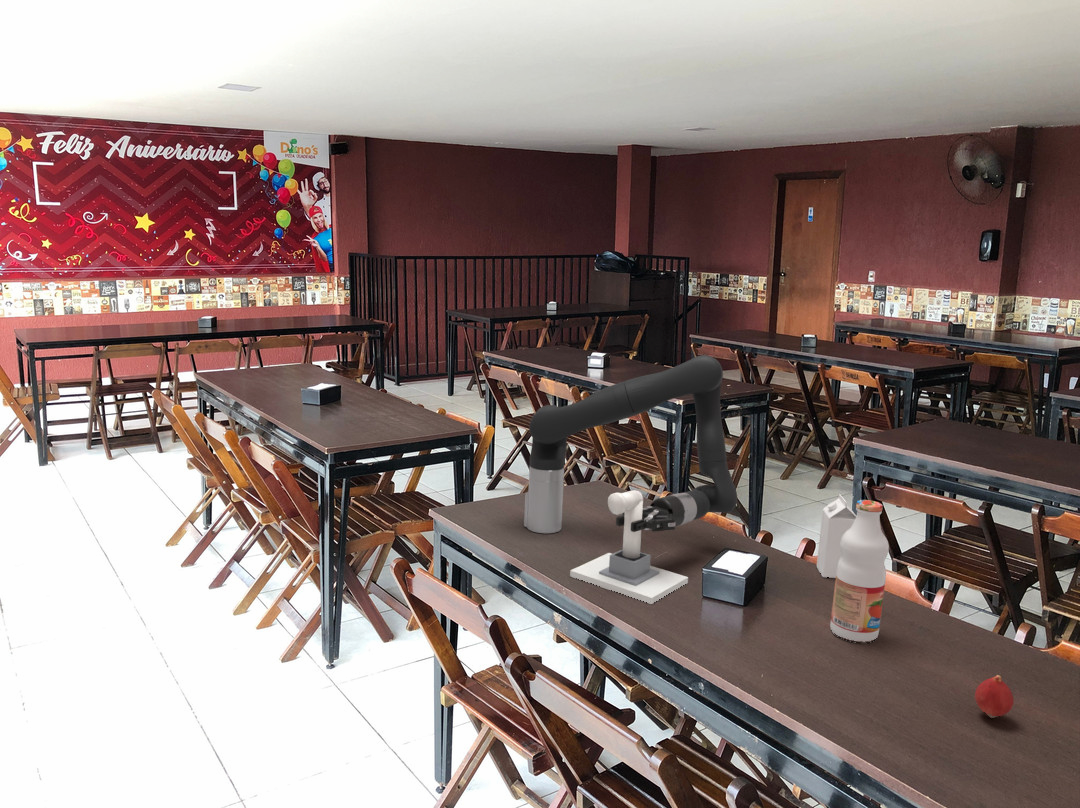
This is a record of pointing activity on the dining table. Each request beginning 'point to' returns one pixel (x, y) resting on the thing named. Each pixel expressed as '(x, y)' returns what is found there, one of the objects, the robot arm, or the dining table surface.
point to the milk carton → (833, 535)
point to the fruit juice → (860, 576)
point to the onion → (994, 697)
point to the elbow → (628, 519)
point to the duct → (630, 576)
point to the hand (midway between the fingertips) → (624, 524)
